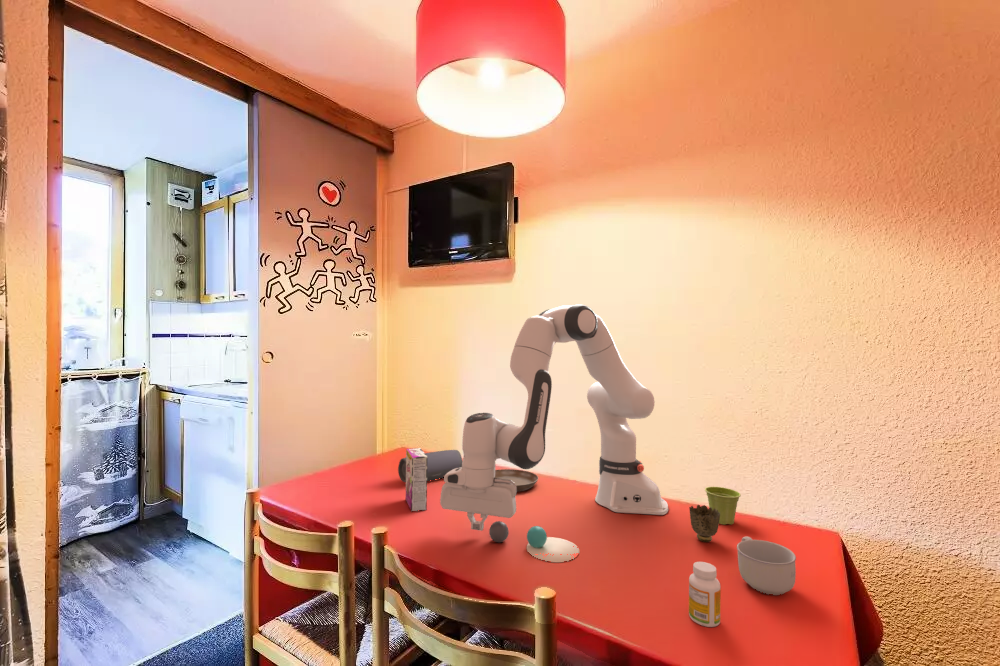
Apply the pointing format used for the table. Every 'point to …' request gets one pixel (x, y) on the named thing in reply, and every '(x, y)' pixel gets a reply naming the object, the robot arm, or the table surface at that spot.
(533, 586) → the table surface
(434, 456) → the bluetooth speaker
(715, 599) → the supplement bottle
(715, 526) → the cup
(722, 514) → the plant pot
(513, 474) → the plant saucer
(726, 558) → the table surface
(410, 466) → the candy bar box
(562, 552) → the cream mark
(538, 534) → the teal ball
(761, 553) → the teacup
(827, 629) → the table surface
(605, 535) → the table surface
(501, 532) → the gray ball
